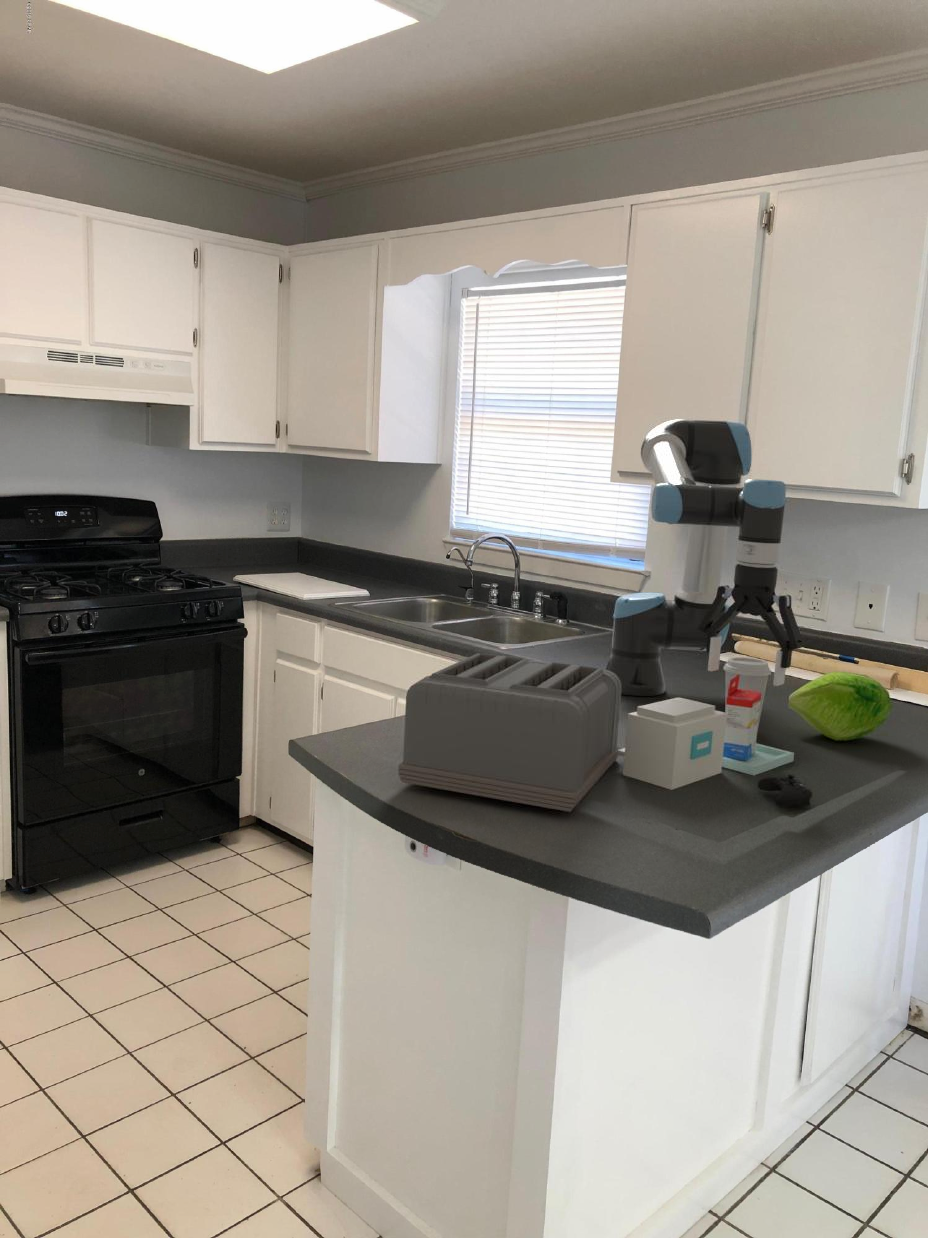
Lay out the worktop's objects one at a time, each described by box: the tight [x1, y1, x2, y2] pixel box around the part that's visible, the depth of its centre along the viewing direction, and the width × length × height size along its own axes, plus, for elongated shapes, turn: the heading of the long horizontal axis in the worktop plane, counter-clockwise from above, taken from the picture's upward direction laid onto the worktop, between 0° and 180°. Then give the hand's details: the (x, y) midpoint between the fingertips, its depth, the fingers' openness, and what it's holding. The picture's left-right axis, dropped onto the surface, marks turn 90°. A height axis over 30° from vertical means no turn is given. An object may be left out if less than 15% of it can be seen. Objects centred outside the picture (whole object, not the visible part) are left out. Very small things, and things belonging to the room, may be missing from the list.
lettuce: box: [788, 671, 893, 742], centre depth 211 cm, size 15×20×14 cm
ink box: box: [723, 674, 761, 761], centre depth 191 cm, size 8×5×15 cm, turn 153°
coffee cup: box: [723, 656, 772, 733], centre depth 211 cm, size 10×10×15 cm
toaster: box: [397, 652, 622, 813], centre depth 178 cm, size 30×36×18 cm
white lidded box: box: [617, 697, 727, 791], centre depth 180 cm, size 14×16×12 cm
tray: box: [722, 742, 795, 776], centre depth 192 cm, size 15×15×2 cm
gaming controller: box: [757, 774, 813, 808], centre depth 167 cm, size 10×5×6 cm
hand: (745, 677), depth 190 cm, fingers open, 13 cm apart
